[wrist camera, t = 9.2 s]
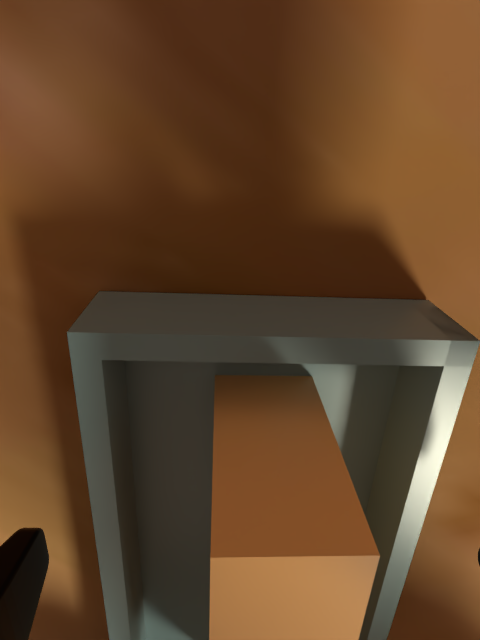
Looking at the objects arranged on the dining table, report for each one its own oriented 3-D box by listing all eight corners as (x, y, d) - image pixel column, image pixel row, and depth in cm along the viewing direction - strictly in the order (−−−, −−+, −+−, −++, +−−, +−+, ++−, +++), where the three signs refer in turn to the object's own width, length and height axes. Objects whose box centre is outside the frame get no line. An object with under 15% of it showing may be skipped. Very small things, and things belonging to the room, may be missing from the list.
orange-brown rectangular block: (311, 376, 11) (380, 555, 6) (277, 650, 16) (300, 864, 11) (214, 375, 11) (210, 557, 6) (210, 651, 15) (205, 870, 11)
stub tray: (428, 300, 10) (480, 340, 8) (338, 666, 17) (354, 741, 15) (99, 291, 10) (67, 332, 8) (136, 671, 17) (124, 749, 14)
